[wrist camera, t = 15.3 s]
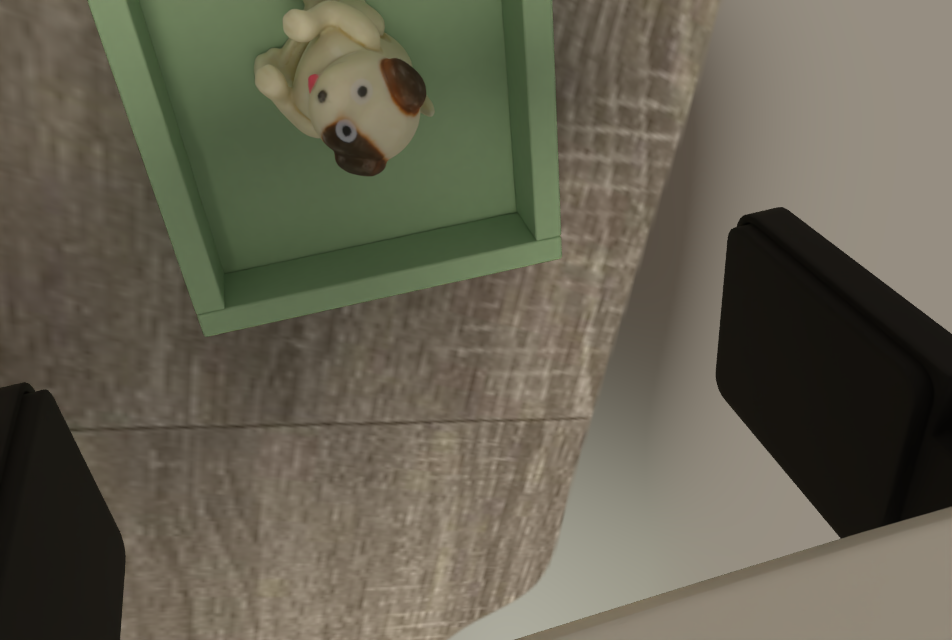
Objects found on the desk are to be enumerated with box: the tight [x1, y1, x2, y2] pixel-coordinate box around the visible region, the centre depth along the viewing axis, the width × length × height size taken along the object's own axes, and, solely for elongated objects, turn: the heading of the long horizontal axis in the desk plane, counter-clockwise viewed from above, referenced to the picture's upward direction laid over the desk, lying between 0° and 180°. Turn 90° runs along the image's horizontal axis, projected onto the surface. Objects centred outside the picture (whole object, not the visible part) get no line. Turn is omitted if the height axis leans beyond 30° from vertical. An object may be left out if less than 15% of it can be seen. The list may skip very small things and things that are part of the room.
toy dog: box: [254, 0, 435, 176], centre depth 21 cm, size 4×5×5 cm
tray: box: [87, 0, 562, 337], centre depth 22 cm, size 13×11×3 cm
